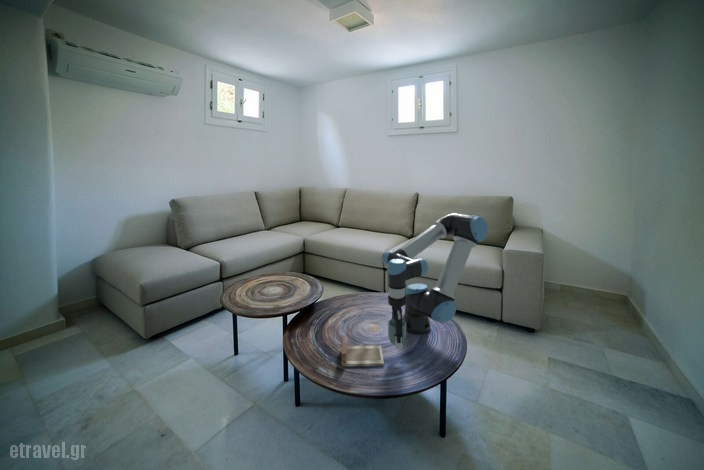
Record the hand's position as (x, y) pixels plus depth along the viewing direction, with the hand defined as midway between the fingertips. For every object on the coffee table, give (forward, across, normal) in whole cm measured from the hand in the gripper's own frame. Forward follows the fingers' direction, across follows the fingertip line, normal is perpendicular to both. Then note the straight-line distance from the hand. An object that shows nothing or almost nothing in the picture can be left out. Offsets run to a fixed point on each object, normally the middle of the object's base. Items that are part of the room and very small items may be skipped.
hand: (397, 342), depth 134 cm
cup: (+1, 0, 0) cm, 1 cm away
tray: (+6, 0, -16) cm, 17 cm away
